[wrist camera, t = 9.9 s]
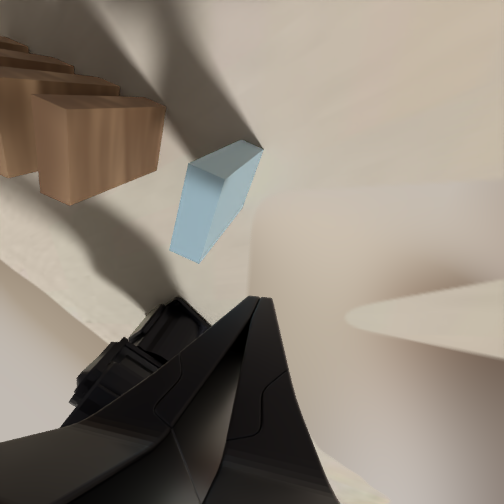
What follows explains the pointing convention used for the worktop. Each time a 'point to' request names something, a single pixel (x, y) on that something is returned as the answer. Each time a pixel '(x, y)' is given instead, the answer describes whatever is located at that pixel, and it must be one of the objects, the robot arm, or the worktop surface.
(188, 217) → the tile
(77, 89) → the tile
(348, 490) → the worktop surface
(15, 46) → the tile
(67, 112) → the tile
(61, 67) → the tile
